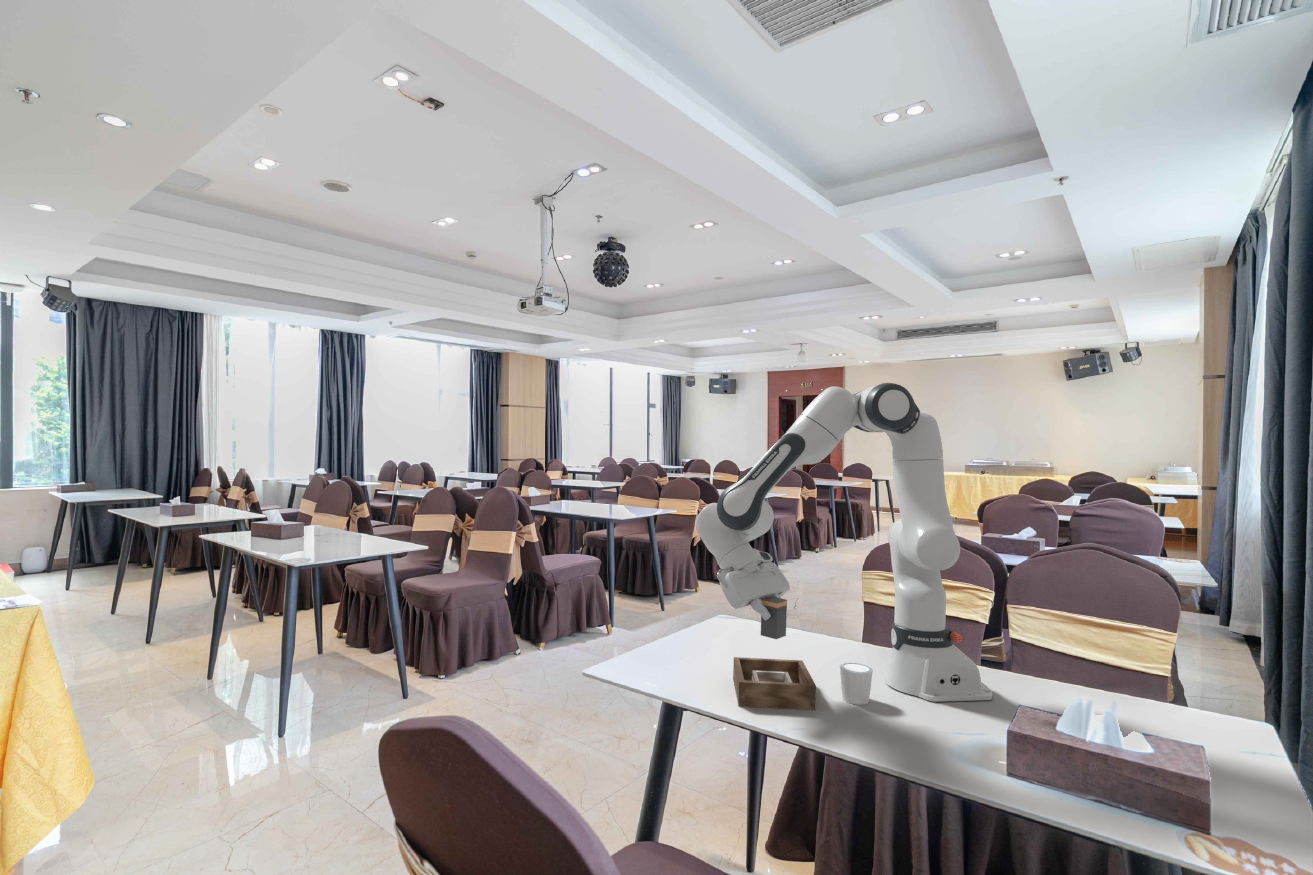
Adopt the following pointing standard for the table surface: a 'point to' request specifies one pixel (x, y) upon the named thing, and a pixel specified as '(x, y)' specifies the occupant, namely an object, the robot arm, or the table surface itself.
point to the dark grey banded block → (774, 618)
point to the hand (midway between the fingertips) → (776, 616)
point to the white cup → (855, 683)
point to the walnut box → (773, 683)
